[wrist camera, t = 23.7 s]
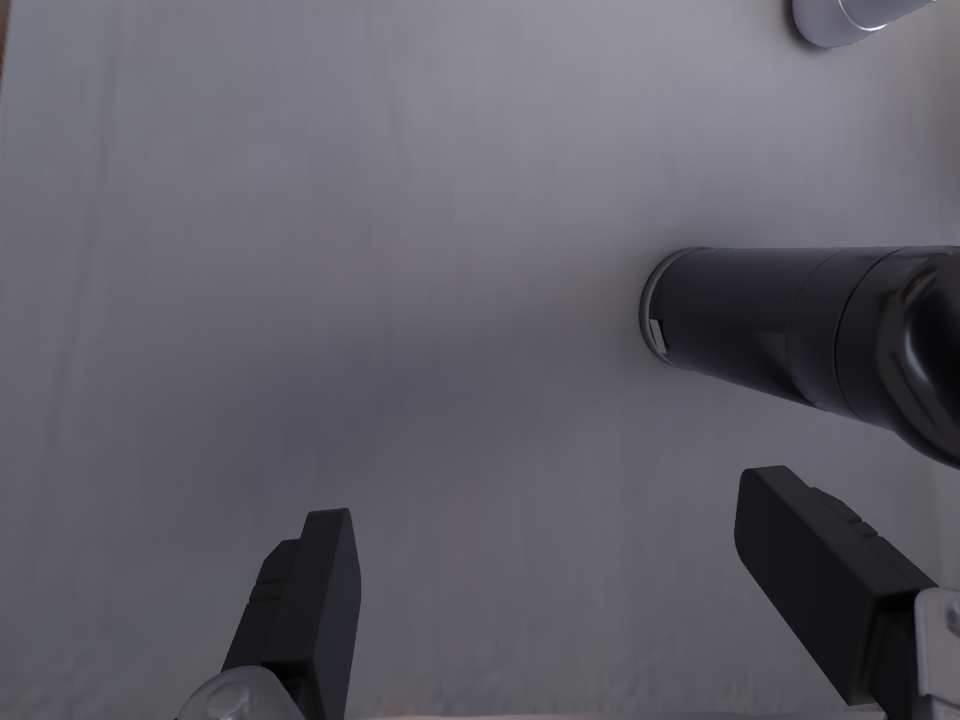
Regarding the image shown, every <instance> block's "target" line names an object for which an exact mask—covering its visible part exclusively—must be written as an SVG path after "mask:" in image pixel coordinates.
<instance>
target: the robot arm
mask: <svg viewBox="0 0 960 720" xmlns="http://www.w3.org/2000/svg"><path fill="white" fill-rule="evenodd" d="M640 319H641V327H642V331H643V334H644V337H645V340H646V342H647V344H648V346H649V347H650V349H651V350H652V351H653V352H654V354H655V355H656V356H657V357H658V358H660V359H661V360H662V361H664V362H665V363H667V364H669V365H671V366H674V367H678V368H681V369H684V370H691V371H695V372H699V373H702V374H705V375H708V376H711V377H714V378H718V379H721V380H724V381H727V382H731V383H734V384H737V385H741V386H744V387H747V388H751V389H754V390H757V391H760V392H764V393H767V394H770V395H774V396H777V397H780V398H784V399H787V400H790V401H793V402H797V403H800V404H803V405H807V406H810V407H813V408H817V409H820V410H823V411H827V412H831V413H834V414H837V415H841V416H844V417H847V418H851V419H854V420H857V421H860V422H864V423H867V424H870V425H874V426H877V427H881V428H884V429H887V430H890V431H893V432H894V433H895V434H897V435H898V436H899V437H900V438H901V439H902V440H903V441H904V442H906V443H907V444H908V445H909V446H911V447H912V448H913V449H915V450H917V451H918V452H920V453H921V454H923V455H925V456H927V457H929V458H931V459H933V460H935V461H937V462H939V463H942V464H944V465H947V466H949V467H952V468H955V469H957V470H960V246H951V245H943V246H901V247H843V248H749V249H733V248H727V249H715V248H705V247H702V248H689V249H685V250H682V251H679V252H677V253H675V254H673V255H671V256H670V257H668V258H667V259H666V260H665V261H663V262H662V263H661V264H660V265H659V266H658V267H657V269H656V270H655V271H654V273H653V274H652V276H651V277H650V279H649V281H648V283H647V285H646V287H645V290H644V293H643V297H642V301H641V310H640ZM734 539H735V545H736V549H737V552H738V555H739V557H740V559H741V561H742V563H743V564H744V566H745V567H746V568H747V570H748V571H749V572H750V574H751V575H752V576H753V578H754V579H755V580H756V582H757V583H758V584H759V586H760V587H761V589H762V590H763V591H764V593H765V594H766V595H767V597H768V598H769V599H770V601H771V602H772V603H773V605H774V606H775V607H776V609H777V610H778V612H779V613H780V614H781V616H782V617H783V618H784V620H785V621H786V622H787V624H788V625H789V626H790V628H791V629H792V630H793V632H794V633H795V635H796V636H797V637H798V639H799V640H800V641H801V643H802V644H803V645H804V647H805V648H806V649H807V651H808V652H809V653H810V655H811V656H812V658H813V659H814V660H815V662H816V663H817V664H818V666H819V667H820V668H821V670H822V671H823V672H824V674H825V675H826V676H827V678H828V679H829V680H830V682H831V683H832V685H833V686H834V687H835V689H836V690H837V691H838V693H839V694H840V695H841V697H842V698H843V699H844V701H845V702H846V703H847V705H848V706H853V705H861V704H869V703H878V704H879V705H880V706H881V708H882V709H883V710H884V711H885V716H884V720H960V589H955V588H948V587H939V586H938V585H937V584H936V583H935V582H933V581H932V580H931V579H930V578H929V577H928V576H927V575H925V574H924V573H923V572H922V571H921V570H920V569H919V568H917V567H916V566H915V565H914V564H913V563H912V562H911V561H910V560H908V559H907V558H906V557H905V556H904V555H903V554H902V553H900V552H899V551H898V550H897V549H896V548H895V547H894V546H892V545H891V544H890V543H889V542H888V541H887V540H886V539H884V538H883V537H879V536H878V532H876V531H875V530H874V529H873V528H872V527H871V526H870V525H868V524H867V523H866V522H862V518H861V517H859V516H858V515H857V514H856V513H855V512H854V511H853V510H851V509H850V508H849V507H848V506H847V505H846V504H845V503H843V502H842V501H841V500H839V499H837V498H835V497H833V496H831V495H829V494H827V493H825V492H823V491H821V490H819V489H817V488H815V487H812V488H810V487H809V486H808V485H806V484H805V483H804V482H803V481H802V480H801V479H800V478H799V477H798V476H797V475H795V474H794V473H793V472H792V471H791V470H790V469H789V468H788V467H786V466H782V465H781V466H771V467H761V468H751V469H746V470H744V471H743V472H742V474H741V478H740V485H739V494H738V502H737V511H736V520H735V528H734ZM360 604H361V574H360V567H359V561H358V555H357V549H356V543H355V538H354V532H353V526H352V520H351V515H350V512H349V509H348V508H341V509H331V510H322V511H312V512H309V514H308V516H307V518H306V522H305V525H304V528H303V531H302V534H301V537H300V539H294V540H284V541H282V542H281V543H280V544H279V545H278V546H277V547H276V548H275V549H274V550H273V551H272V552H271V553H270V554H269V556H268V557H267V558H266V559H265V560H264V562H263V565H262V567H261V570H260V572H259V575H258V577H257V580H256V585H255V586H254V588H253V590H252V593H251V595H250V598H249V604H247V606H246V608H245V611H244V613H243V616H242V618H241V621H240V623H239V626H238V629H237V631H236V634H235V636H234V639H233V641H232V644H231V646H230V649H229V652H228V654H227V657H226V659H225V662H224V664H223V667H222V669H221V672H220V674H218V675H216V676H214V677H212V678H211V679H209V680H208V681H206V682H205V683H204V684H203V685H201V686H200V687H199V688H198V689H197V690H196V691H195V692H194V693H193V694H192V695H191V696H190V697H189V699H188V700H187V701H186V702H185V704H184V706H183V707H182V709H181V711H180V713H179V716H178V718H176V719H174V720H343V719H344V713H345V706H346V699H347V692H348V686H349V679H350V672H351V665H352V658H353V652H354V645H355V638H356V631H357V624H358V618H359V611H360Z"/></svg>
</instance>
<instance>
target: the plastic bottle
mask: <svg viewBox="0 0 960 720" xmlns="http://www.w3.org/2000/svg"><path fill="white" fill-rule="evenodd" d="M936 1H939V0H792V10H793V16H794V21H795V23H796V26H797V28H798V30H799V31H800V33H801V34H802V35H803V36H804V38H805V39H807V40H808V41H810V42H811V43H814V44H816V45H818V46H821V47H824V48H833V47H839V46H845V45H851V44H853V43H856V42H858V41H860V40H862V39H864V38H865V37H867V36H869V35H871V34H873V33H875V32H876V31H878V30H879V29H881V28H882V27H884V26H885V25H886V24H888V23H890V22H892V21H894V20H896V19H898V18H900V17H902V16H905V15H907V14H909V13H911V12H913V11H915V10H917V9H919V8H921V7H923V6H925V5H927V4H930V3H933V2H936Z"/></svg>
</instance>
